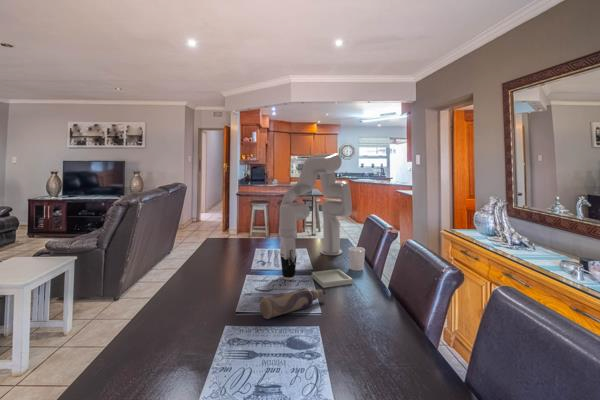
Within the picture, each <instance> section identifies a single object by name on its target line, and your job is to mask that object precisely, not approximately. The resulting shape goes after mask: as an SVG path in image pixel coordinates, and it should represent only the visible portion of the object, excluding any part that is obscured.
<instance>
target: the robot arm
mask: <svg viewBox="0 0 600 400" xmlns="http://www.w3.org/2000/svg"><path fill="white" fill-rule="evenodd" d="M341 166H342V157H341V156H340V154H338V153H317V154H316V153H315V154H312V155H311V156H310V157H308V158H306V159H305V160H304V162H303V165H302V167H301V171H300V174H299V176H298V180H297V182H296V183H295V184H293V185H292V186H291V187H289V189H287V191H286V192H285V194H283V197H282V200H281V203H280V206H279V237H280V243H279V245H280V246H279V248H280V249H279V252H280V253H279V255H280V254H281V256H284V259H285V260H287V259H288V263H289V265H288V274H294V273H295V274H296V268H295V258H296V253H297V248H296V247H297V246H296V245H297V244H296V237H297V233H298V232H297V231H298V230H297V224H298V223H297V222H298V221H300V220H301V221H302V220H306V219H307V218H309V215H310V214H311V212H310V211H311V209H310V207H309V205H308V204H306V203H301V202H300V203H299V202H294V201H295V200H296V198H298V197H300V196H302V195H304V194H307V193H310V192H312V191H313V190H314V189H315V186H316V185H315V184H316V183H317V180H318V175H319V178H320V184H321V185H320V186H321V192H322V196H323V197H324V198H326V200H324V201H322V203H321V212H322V219H323V230H322V231H323V235H322V237H323V238H322V239H323V241H322V242H323V243H322V244H323V245H322V246H323V248H322V249H321V250H320V253H321V254H322V255H324V256H339V255H342V254H343V250H342V249H341V247H340V244H341V243H340V241H341V240H340V239H341V238H340V236H341V235H340V233H341V230H340V229H341V226H340V225H341V223H340V220H339V218H338V217H344V218H347V217H350V216H351V215H352V213H353V212H352V211H353V204H352V194H351V187H350V185H349V183H348V182H347V181H337V179H336V171H338V170H339V169H340V168H341ZM289 256H291V257H292V258H289ZM296 259H297V258H296ZM290 260H291V261H290Z"/></svg>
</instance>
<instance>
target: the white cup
mask: <svg viewBox="0 0 600 400" xmlns="http://www.w3.org/2000/svg"><path fill="white" fill-rule="evenodd" d="M365 257H366V249H365V248H364V247H361V246H351V247H348V262H349V270H352V271H353V272H355V271H357V272H359V271H363V270H364V267H365V266H364V265H365Z"/></svg>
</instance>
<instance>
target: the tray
mask: <svg viewBox="0 0 600 400" xmlns="http://www.w3.org/2000/svg"><path fill="white" fill-rule="evenodd" d="M311 278H313V279H314V281H316V283H317V284H318V285H320V286H321V288H323V289H325V288H331V287H339V286H344V285H352V284H353V281H354V280H353V278H352V277H351V276H349V275H348V274H346V273H345V272H344V271H342V270H341V269H339V268H337V269H328V270H320V271H319V270H318V271H311Z"/></svg>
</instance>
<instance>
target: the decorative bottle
mask: <svg viewBox="0 0 600 400" xmlns="http://www.w3.org/2000/svg"><path fill="white" fill-rule="evenodd" d="M326 294H327V290H325V289H317V290H316V289H311V290H310V289H308V288H305V287H304V288H300V289H297V290H293V291H288V292H284V293H281V294H277V295H273V296H268V297H264V298H262V299H261V300H260V302H259V310H260V314H261V316H262V317H263V318H264V317H265V318H266V319H265V318H264V319H265V320H269V319H272V318H275V317H278V316H279V317H280V316H282V315H285V314H288V313H291V312H295V311H298V310H301V309H303V310H304V309H307V307H308V308H309V307H310V306H312V305H313V302H314V301H316V300H318V299H320V298H323V296H324V295H326Z"/></svg>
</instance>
